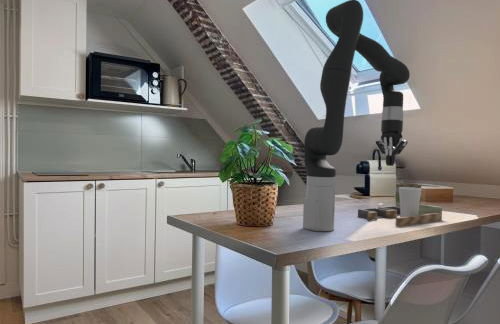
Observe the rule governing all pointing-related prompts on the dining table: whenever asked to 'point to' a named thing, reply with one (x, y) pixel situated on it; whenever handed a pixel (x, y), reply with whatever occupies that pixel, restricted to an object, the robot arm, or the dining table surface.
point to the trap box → (424, 215)
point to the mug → (405, 186)
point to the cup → (409, 201)
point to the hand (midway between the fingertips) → (390, 165)
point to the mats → (385, 217)
